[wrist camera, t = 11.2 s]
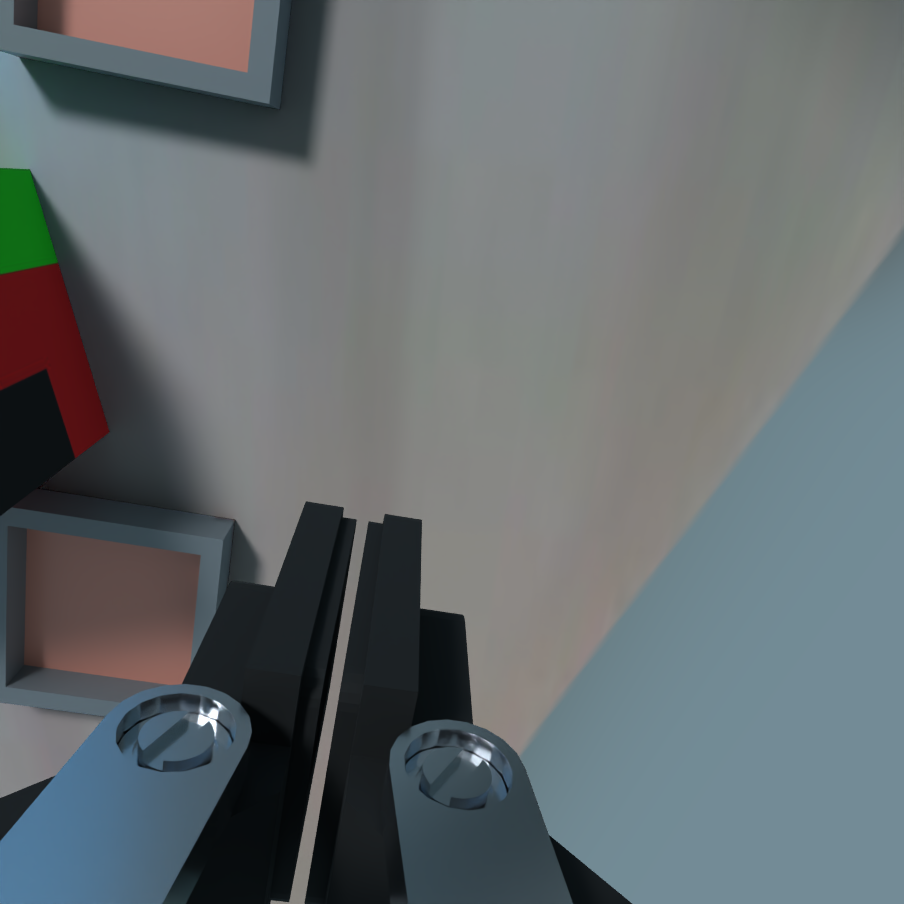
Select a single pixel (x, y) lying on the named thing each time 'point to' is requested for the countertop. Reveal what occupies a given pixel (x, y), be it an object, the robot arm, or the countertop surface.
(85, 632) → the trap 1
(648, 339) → the countertop surface
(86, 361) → the puzzle toy
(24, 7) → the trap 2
